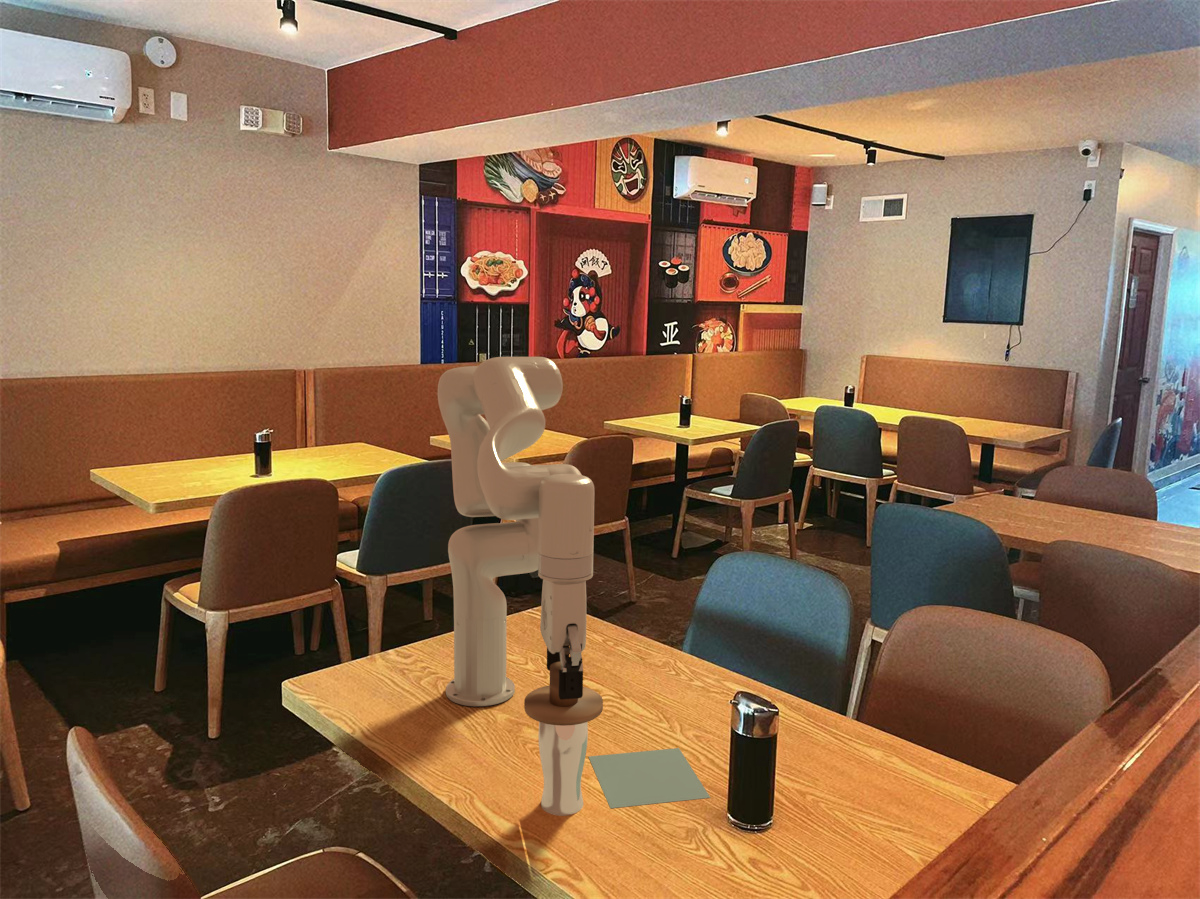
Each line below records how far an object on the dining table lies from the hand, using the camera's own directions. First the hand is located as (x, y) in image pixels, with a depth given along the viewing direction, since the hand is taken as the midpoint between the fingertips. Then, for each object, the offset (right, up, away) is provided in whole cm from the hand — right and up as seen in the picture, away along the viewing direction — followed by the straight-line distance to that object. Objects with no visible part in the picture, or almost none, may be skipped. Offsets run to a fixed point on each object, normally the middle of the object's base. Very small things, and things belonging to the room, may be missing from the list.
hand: (563, 683), depth 124 cm
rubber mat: (+12, -17, +11) cm, 24 cm away
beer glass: (0, -19, +3) cm, 19 cm away
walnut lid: (0, -4, +1) cm, 4 cm away
